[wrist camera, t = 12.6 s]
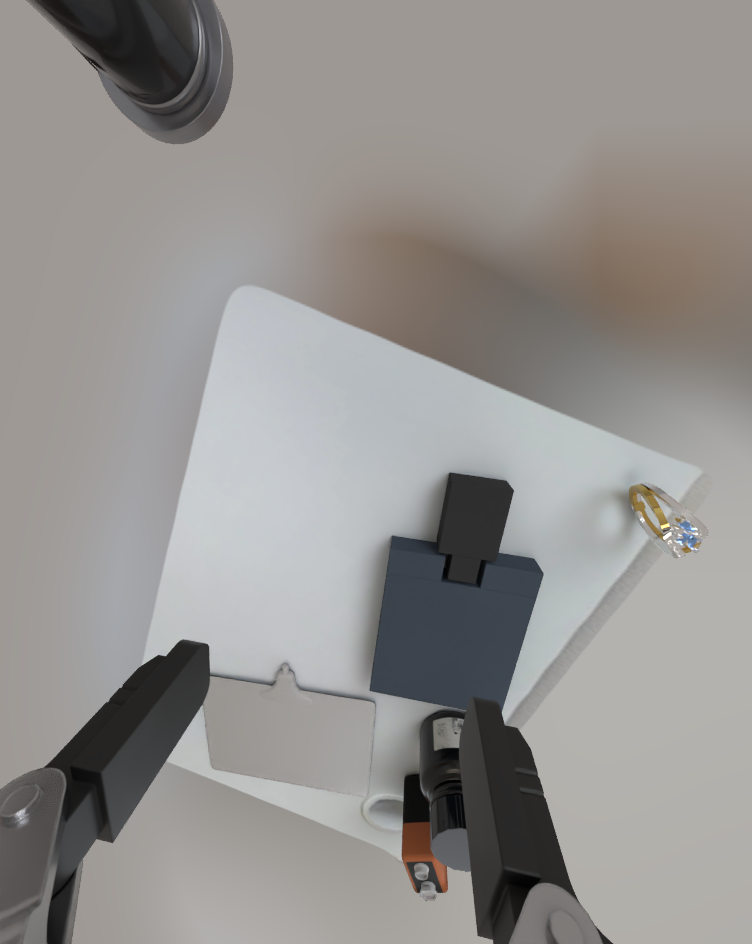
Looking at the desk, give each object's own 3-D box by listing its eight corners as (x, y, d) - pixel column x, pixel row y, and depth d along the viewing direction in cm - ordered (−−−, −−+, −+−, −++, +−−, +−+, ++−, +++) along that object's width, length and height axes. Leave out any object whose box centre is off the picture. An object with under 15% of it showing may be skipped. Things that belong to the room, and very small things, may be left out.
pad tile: (449, 472, 37) (452, 481, 34) (506, 480, 36) (514, 490, 34) (432, 562, 40) (433, 577, 37) (484, 571, 40) (489, 586, 37)
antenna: (378, 676, 46) (377, 684, 45) (368, 792, 53) (367, 802, 52) (199, 648, 48) (194, 655, 47) (213, 764, 55) (209, 772, 54)
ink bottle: (502, 731, 46) (530, 851, 35) (464, 768, 49) (478, 891, 37) (440, 696, 46) (447, 806, 34) (404, 735, 48) (400, 849, 37)
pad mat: (392, 535, 40) (390, 548, 37) (534, 558, 38) (544, 573, 36) (372, 671, 46) (369, 691, 43) (495, 694, 44) (500, 717, 42)
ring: (608, 479, 35) (660, 509, 28) (642, 467, 34) (705, 495, 27) (626, 537, 37) (680, 581, 29) (659, 527, 36) (724, 569, 28)
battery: (415, 807, 52) (414, 905, 42) (403, 774, 50) (400, 868, 41) (443, 805, 51) (449, 905, 42) (432, 772, 50) (436, 868, 40)
